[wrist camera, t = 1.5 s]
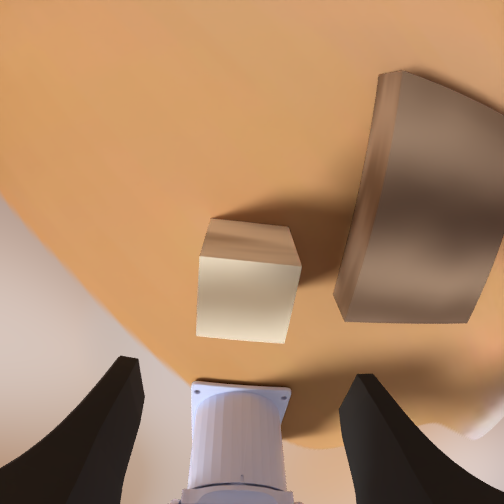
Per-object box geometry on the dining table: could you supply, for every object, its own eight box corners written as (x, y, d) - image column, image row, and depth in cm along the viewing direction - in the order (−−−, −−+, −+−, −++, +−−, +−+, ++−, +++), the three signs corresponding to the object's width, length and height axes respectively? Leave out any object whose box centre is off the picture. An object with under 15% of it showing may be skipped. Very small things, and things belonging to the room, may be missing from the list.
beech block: (276, 292, 21) (284, 343, 16) (205, 285, 20) (196, 335, 16) (288, 226, 19) (302, 266, 14) (210, 218, 18) (199, 256, 14)
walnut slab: (448, 300, 21) (467, 323, 19) (332, 294, 21) (344, 321, 18) (499, 123, 16) (528, 129, 13) (378, 74, 15) (402, 70, 12)
